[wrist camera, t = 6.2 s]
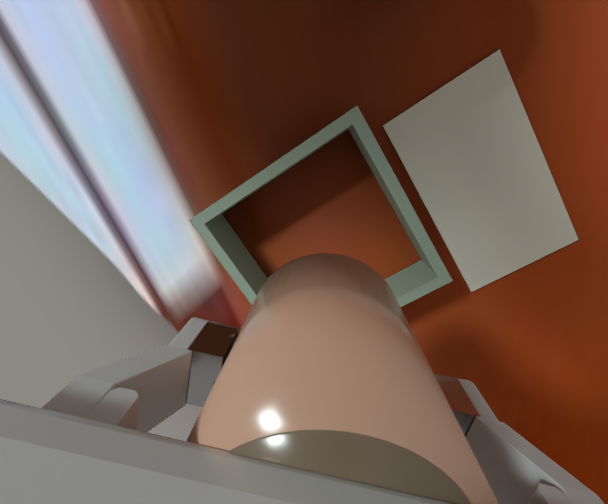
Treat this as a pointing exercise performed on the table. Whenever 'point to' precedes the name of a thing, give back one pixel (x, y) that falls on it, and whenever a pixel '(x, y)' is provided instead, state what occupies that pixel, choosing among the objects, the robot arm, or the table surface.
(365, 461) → the seedling pot
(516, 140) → the mat
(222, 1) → the table surface
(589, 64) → the table surface
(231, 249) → the frame
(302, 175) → the table surface
